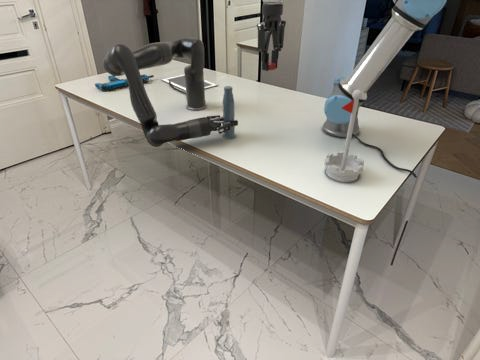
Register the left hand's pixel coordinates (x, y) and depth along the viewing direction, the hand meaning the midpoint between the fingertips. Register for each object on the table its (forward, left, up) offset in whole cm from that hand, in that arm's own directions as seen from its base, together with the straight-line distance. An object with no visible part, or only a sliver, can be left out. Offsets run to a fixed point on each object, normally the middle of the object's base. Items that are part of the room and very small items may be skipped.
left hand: (234, 120), depth 143 cm
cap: (+4, +14, +22) cm, 26 cm away
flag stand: (+46, +19, -7) cm, 50 cm away
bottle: (0, -3, -7) cm, 7 cm away
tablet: (-78, +8, -7) cm, 79 cm away
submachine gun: (-98, -27, -7) cm, 102 cm away
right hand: (+4, +14, +20) cm, 25 cm away
